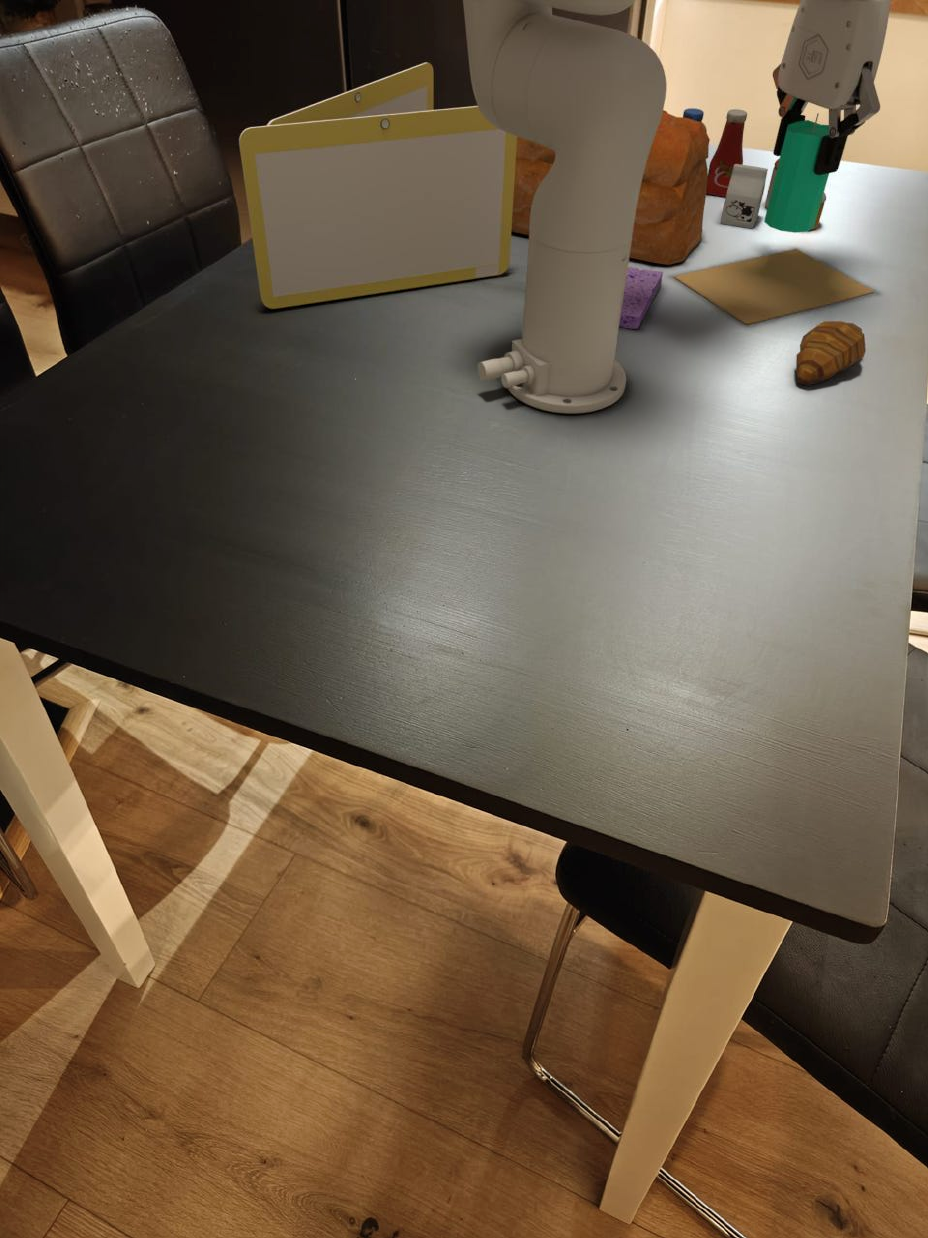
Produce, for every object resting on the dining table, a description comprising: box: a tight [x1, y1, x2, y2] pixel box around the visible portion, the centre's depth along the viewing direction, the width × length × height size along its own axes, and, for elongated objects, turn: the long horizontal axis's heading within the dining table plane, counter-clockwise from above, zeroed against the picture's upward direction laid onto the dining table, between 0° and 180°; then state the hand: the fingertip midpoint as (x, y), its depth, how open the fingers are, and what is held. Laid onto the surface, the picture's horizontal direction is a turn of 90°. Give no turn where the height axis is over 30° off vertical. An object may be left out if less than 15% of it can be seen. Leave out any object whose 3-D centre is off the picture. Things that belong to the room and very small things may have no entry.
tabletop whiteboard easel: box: [238, 61, 517, 310], centre depth 105 cm, size 35×22×20 cm, turn 149°
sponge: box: [619, 266, 664, 330], centre depth 107 cm, size 7×13×2 cm, turn 159°
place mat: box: [673, 248, 875, 326], centre depth 112 cm, size 20×14×1 cm
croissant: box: [795, 320, 867, 386], centre depth 96 cm, size 14×7×5 cm, turn 141°
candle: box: [763, 112, 830, 233], centre depth 105 cm, size 6×6×12 cm
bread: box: [511, 112, 711, 266], centre depth 118 cm, size 14×27×15 cm, turn 63°
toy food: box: [663, 107, 827, 231], centre depth 126 cm, size 27×13×12 cm, turn 67°
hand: (804, 161), depth 105 cm, fingers closed on candle, 6 cm apart
